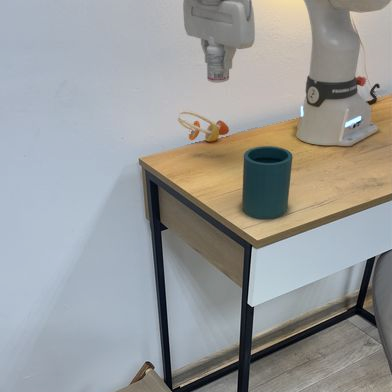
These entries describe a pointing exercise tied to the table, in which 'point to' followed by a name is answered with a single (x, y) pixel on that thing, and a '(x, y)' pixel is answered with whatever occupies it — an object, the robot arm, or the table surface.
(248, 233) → the table surface
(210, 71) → the pill bottle
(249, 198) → the jar
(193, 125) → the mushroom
